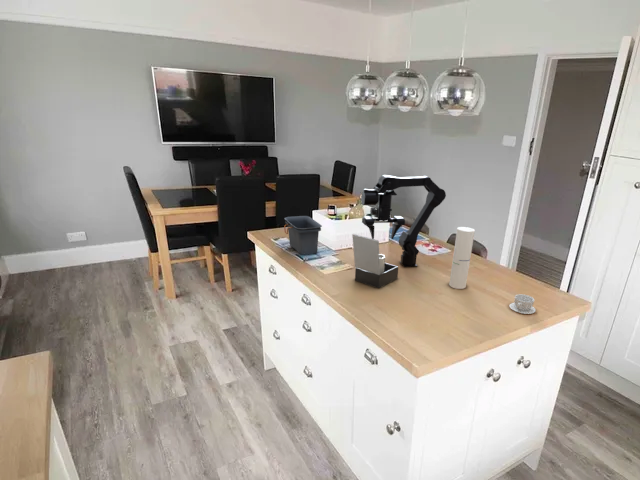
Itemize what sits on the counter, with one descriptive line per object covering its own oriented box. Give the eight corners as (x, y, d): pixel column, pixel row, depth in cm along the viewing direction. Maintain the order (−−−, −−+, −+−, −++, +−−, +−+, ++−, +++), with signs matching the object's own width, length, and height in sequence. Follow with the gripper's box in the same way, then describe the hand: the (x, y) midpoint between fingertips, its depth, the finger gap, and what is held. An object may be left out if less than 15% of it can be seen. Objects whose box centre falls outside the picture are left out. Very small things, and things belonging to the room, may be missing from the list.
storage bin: (324, 254, 205) (324, 226, 199) (294, 258, 197) (293, 228, 191) (308, 242, 221) (307, 215, 215) (279, 245, 213) (278, 217, 207)
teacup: (515, 301, 169) (517, 290, 167) (539, 309, 164) (541, 298, 162) (504, 308, 162) (507, 297, 160) (529, 317, 156) (532, 306, 154)
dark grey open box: (374, 271, 188) (375, 259, 186) (397, 278, 183) (398, 266, 180) (354, 280, 177) (355, 267, 175) (378, 288, 171) (379, 275, 169)
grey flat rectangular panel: (353, 233, 167) (352, 234, 166) (378, 240, 161) (377, 241, 160) (356, 266, 175) (354, 267, 174) (380, 274, 169) (379, 274, 169)
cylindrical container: (465, 289, 176) (474, 232, 166) (448, 287, 178) (456, 230, 167) (466, 283, 183) (475, 228, 172) (449, 281, 184) (457, 226, 173)
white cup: (384, 276, 182) (386, 254, 178) (381, 281, 176) (383, 259, 172) (371, 274, 183) (372, 253, 179) (368, 279, 177) (369, 257, 173)
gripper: (398, 201, 194) (395, 233, 200) (359, 201, 188) (358, 234, 194) (406, 206, 184) (403, 240, 191) (366, 206, 178) (364, 241, 185)
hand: (382, 239), depth 190 cm, fingers open, 9 cm apart
